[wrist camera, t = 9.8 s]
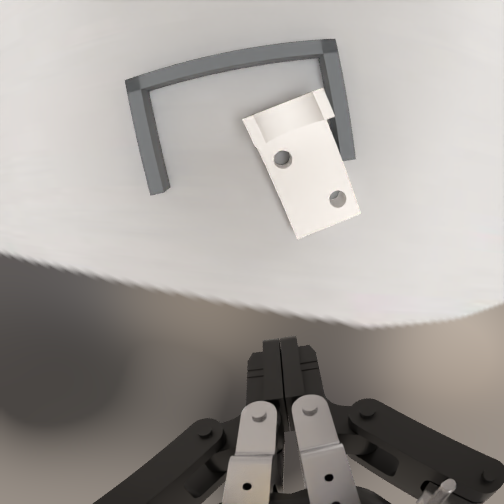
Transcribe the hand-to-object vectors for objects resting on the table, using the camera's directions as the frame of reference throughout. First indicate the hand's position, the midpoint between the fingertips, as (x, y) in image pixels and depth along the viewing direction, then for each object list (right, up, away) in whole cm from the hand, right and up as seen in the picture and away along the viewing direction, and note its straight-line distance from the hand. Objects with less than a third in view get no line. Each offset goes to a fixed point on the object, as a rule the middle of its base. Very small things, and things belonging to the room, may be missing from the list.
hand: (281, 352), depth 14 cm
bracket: (+4, +14, +19) cm, 24 cm away
